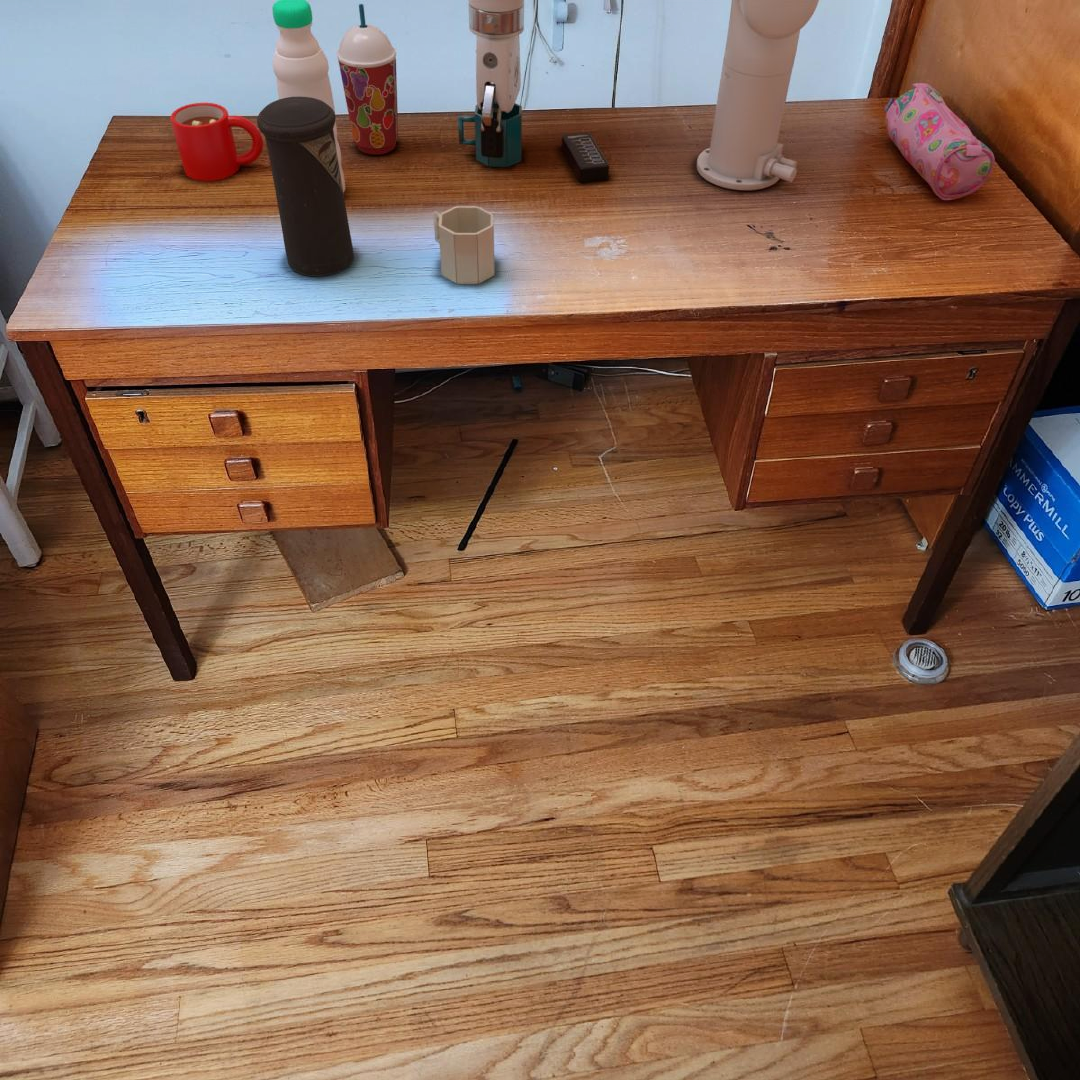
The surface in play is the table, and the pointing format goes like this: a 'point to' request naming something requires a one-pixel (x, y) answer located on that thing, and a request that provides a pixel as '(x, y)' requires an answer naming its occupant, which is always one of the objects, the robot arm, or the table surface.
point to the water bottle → (301, 59)
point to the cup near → (465, 244)
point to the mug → (211, 141)
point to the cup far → (510, 136)
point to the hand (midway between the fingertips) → (497, 143)
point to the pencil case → (937, 143)
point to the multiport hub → (585, 157)
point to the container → (307, 184)
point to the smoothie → (370, 87)
